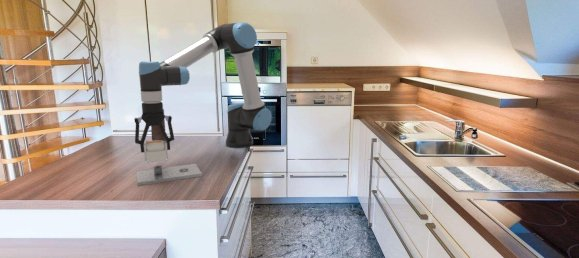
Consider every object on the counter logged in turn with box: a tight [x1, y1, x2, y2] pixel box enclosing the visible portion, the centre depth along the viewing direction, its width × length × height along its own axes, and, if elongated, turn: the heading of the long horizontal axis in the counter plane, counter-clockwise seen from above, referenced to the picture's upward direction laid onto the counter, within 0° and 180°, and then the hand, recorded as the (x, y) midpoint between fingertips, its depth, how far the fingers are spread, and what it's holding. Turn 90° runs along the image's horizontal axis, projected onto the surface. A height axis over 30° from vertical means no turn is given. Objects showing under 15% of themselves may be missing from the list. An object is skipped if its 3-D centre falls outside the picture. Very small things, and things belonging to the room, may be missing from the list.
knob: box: [145, 140, 167, 163], centre depth 131 cm, size 7×7×8 cm
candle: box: [150, 108, 166, 141], centre depth 183 cm, size 8×7×20 cm
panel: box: [136, 163, 203, 187], centre depth 135 cm, size 24×14×4 cm, turn 116°
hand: (156, 158), depth 132 cm, fingers closed on knob, 7 cm apart
